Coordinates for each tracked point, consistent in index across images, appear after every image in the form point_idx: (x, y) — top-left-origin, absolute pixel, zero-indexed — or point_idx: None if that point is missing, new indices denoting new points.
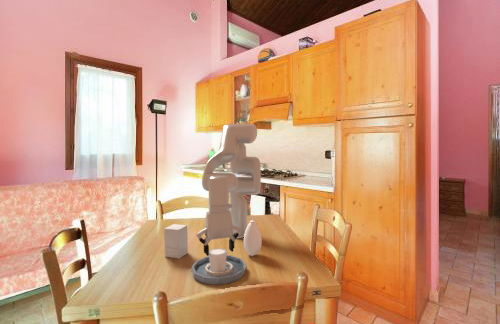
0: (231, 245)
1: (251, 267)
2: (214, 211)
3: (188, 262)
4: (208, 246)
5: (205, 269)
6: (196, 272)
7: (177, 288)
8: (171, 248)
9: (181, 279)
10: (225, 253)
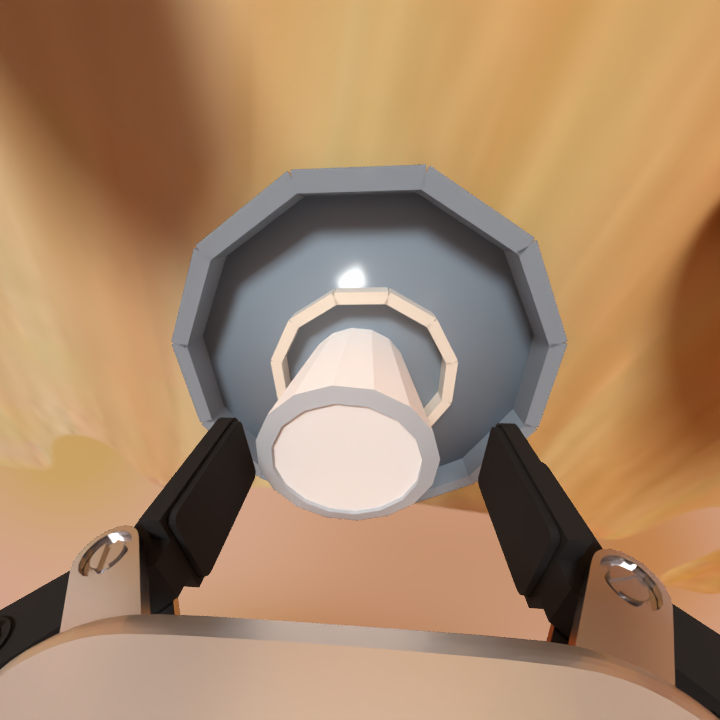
0: (501, 547)
1: (568, 391)
2: None
3: (145, 112)
4: (208, 568)
5: (275, 367)
6: (222, 362)
7: (150, 440)
8: None
9: (150, 376)
10: (402, 506)
